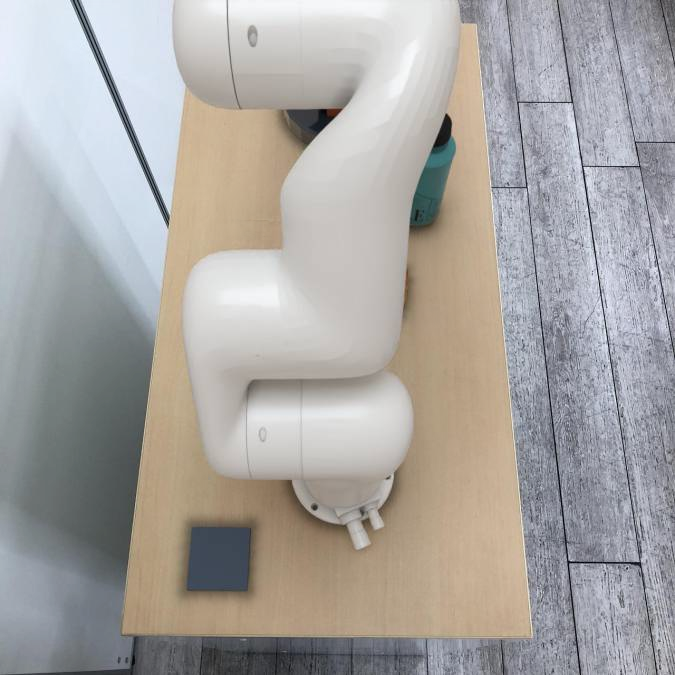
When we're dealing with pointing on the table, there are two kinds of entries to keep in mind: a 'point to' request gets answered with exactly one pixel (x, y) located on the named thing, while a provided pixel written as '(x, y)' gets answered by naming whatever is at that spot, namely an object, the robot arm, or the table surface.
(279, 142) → the table surface
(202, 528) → the mat
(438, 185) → the beverage bottle
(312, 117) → the pan
